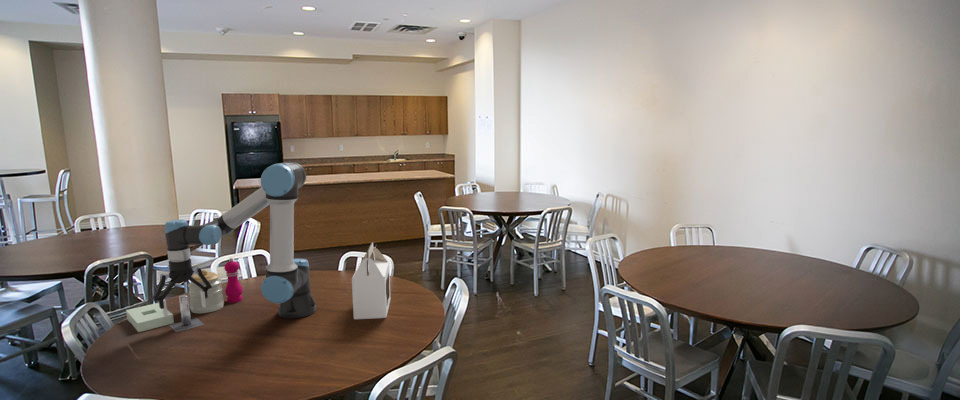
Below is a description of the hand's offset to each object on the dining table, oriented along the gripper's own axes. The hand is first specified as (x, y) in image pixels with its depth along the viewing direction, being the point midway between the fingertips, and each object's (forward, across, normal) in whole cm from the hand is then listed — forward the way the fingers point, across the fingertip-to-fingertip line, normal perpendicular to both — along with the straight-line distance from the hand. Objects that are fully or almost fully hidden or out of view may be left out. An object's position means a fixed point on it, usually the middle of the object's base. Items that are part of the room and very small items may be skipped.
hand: (185, 311), depth 195 cm
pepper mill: (+6, -24, -16) cm, 30 cm away
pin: (+6, 0, 0) cm, 6 cm away
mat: (+6, 0, 0) cm, 6 cm away
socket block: (+6, +9, -16) cm, 19 cm away
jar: (+6, -12, -14) cm, 20 cm away
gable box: (+6, -61, +40) cm, 73 cm away
